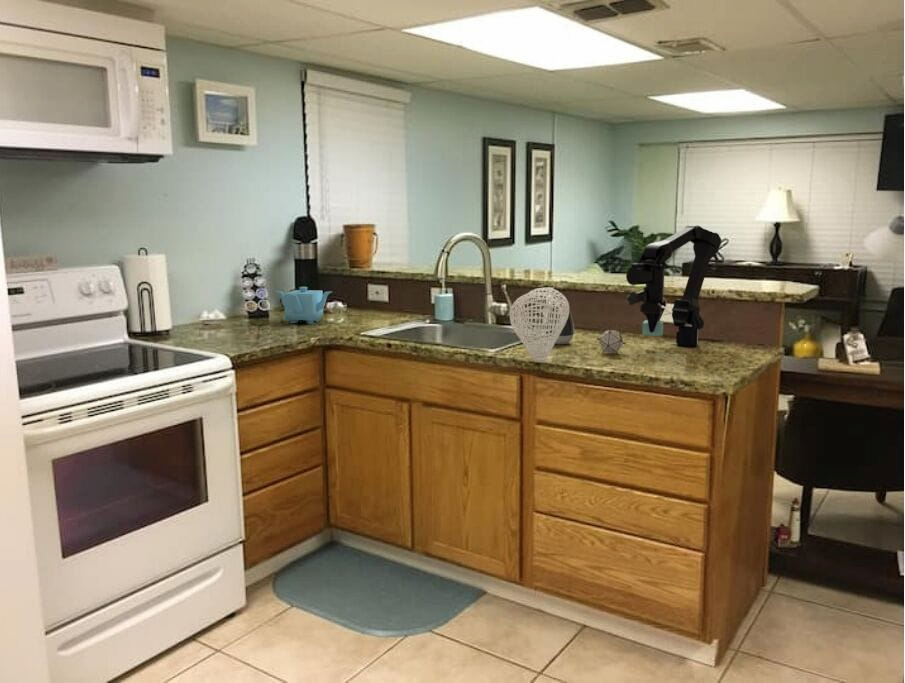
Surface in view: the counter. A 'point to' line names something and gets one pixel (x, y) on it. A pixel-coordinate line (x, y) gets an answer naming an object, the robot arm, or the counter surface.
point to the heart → (521, 324)
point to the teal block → (657, 331)
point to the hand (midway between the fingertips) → (652, 330)
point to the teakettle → (303, 304)
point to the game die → (611, 341)
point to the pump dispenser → (567, 331)
